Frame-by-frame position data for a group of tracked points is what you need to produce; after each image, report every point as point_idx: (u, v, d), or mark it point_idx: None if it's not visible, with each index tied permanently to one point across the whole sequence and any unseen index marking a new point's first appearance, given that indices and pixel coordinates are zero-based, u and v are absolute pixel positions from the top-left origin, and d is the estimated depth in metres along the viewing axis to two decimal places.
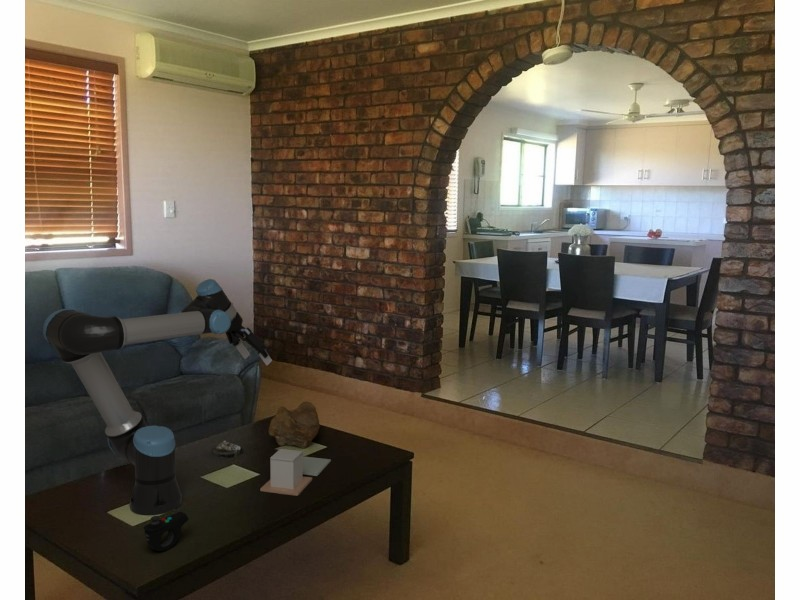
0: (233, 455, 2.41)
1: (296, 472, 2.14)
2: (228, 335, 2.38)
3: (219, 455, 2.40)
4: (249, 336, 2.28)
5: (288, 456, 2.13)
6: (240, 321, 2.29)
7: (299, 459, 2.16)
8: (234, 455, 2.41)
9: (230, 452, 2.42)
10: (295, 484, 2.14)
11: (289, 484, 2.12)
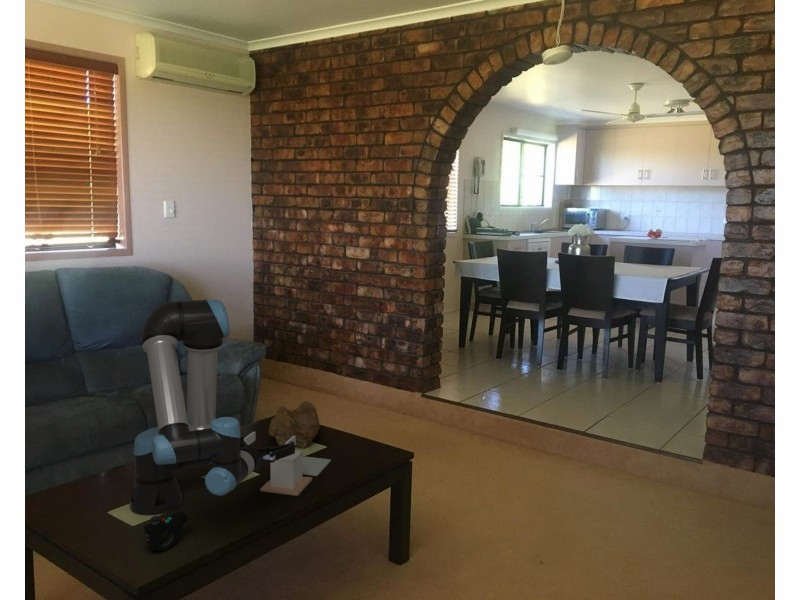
0: None
1: (296, 472, 2.14)
2: (278, 449, 1.92)
3: None
4: None
5: (288, 456, 2.13)
6: None
7: (299, 459, 2.16)
8: None
9: None
10: (295, 484, 2.14)
11: (289, 484, 2.12)
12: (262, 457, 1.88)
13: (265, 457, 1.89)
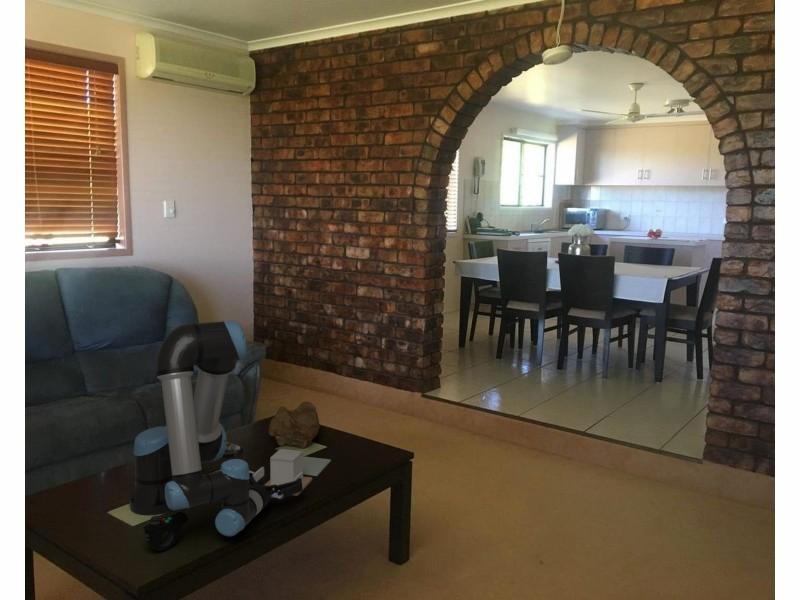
0: (233, 455, 2.41)
1: (296, 472, 2.14)
2: (286, 487, 1.97)
3: None
4: None
5: (288, 456, 2.13)
6: None
7: (299, 459, 2.16)
8: (234, 455, 2.41)
9: (230, 452, 2.43)
10: None
11: None
12: (270, 495, 1.94)
13: (273, 495, 1.94)
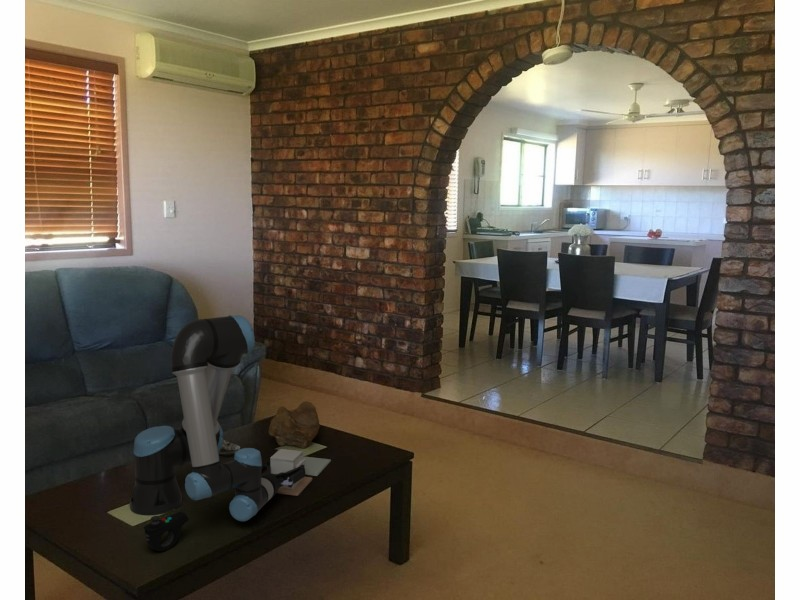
0: (233, 455, 2.41)
1: None
2: (293, 474, 2.07)
3: None
4: None
5: (288, 456, 2.13)
6: None
7: (299, 459, 2.16)
8: (233, 455, 2.41)
9: (230, 452, 2.43)
10: (295, 484, 2.14)
11: None
12: (280, 483, 2.02)
13: (284, 483, 2.03)
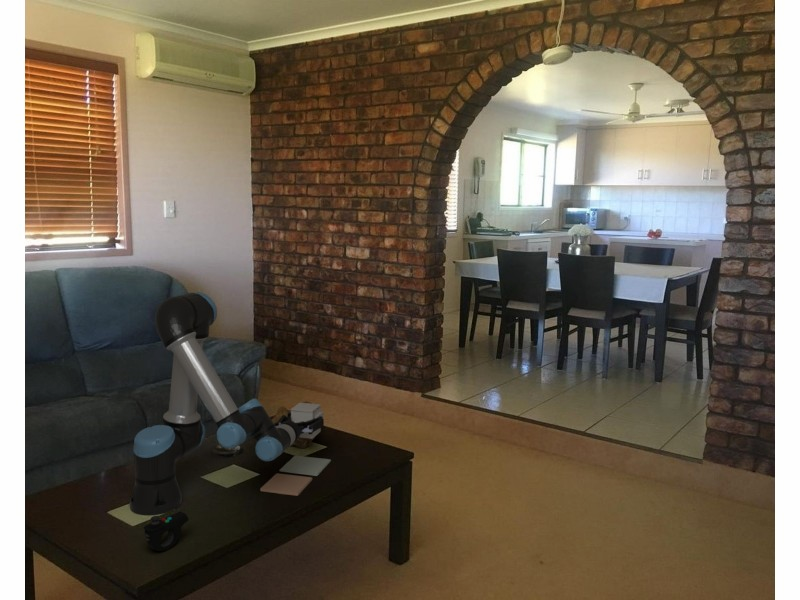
0: (232, 455, 2.41)
1: None
2: (312, 423, 2.22)
3: (218, 454, 2.41)
4: None
5: (307, 408, 2.28)
6: None
7: (317, 411, 2.31)
8: (233, 455, 2.41)
9: (229, 452, 2.43)
10: (314, 434, 2.28)
11: (308, 434, 2.27)
12: (301, 430, 2.17)
13: (304, 430, 2.18)
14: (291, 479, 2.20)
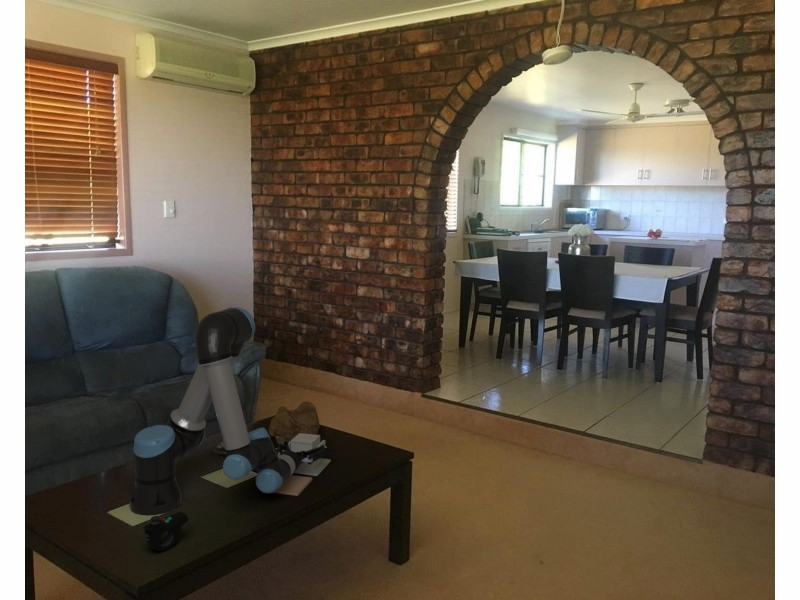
0: None
1: None
2: (313, 453, 2.23)
3: (218, 454, 2.41)
4: (276, 452, 2.24)
5: (307, 440, 2.30)
6: None
7: (317, 442, 2.32)
8: None
9: None
10: (314, 465, 2.30)
11: (308, 465, 2.29)
12: (301, 460, 2.19)
13: (304, 460, 2.19)
14: (291, 479, 2.20)
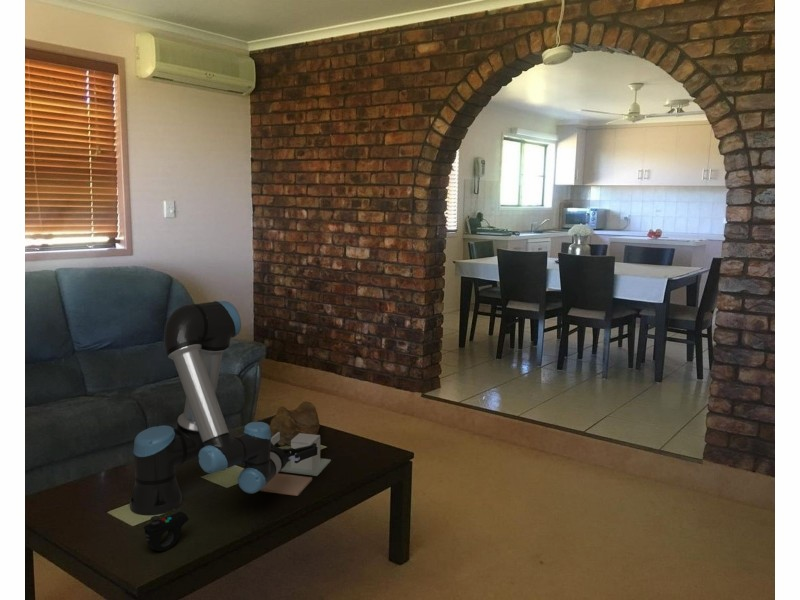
0: None
1: None
2: (302, 451, 2.08)
3: None
4: None
5: (307, 440, 2.30)
6: None
7: (317, 442, 2.32)
8: None
9: None
10: (314, 465, 2.30)
11: (308, 465, 2.29)
12: (288, 458, 2.05)
13: (290, 458, 2.05)
14: (291, 479, 2.20)
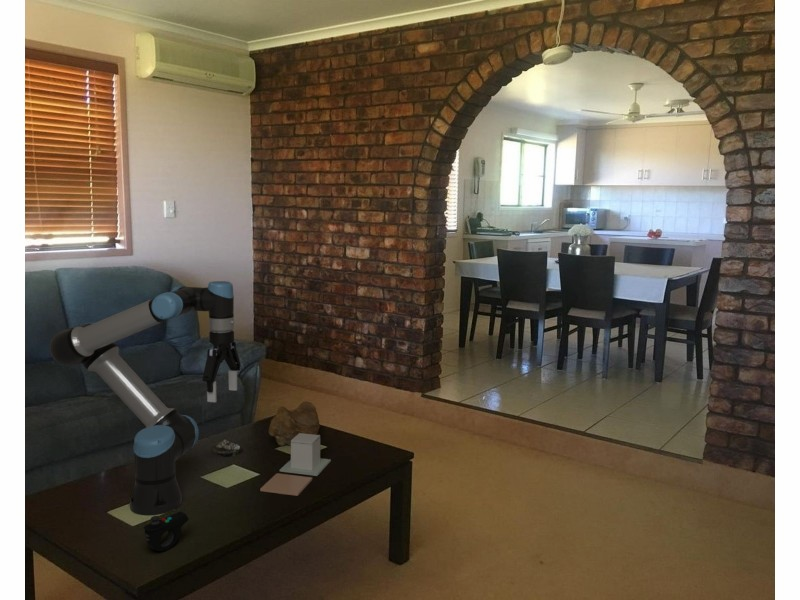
0: (232, 455, 2.41)
1: (314, 454, 2.30)
2: None
3: (217, 454, 2.41)
4: (208, 357, 1.99)
5: (307, 440, 2.30)
6: (220, 341, 2.02)
7: (317, 442, 2.32)
8: (232, 454, 2.42)
9: (229, 451, 2.43)
10: (314, 465, 2.30)
11: (308, 465, 2.29)
12: None
13: None
14: (291, 479, 2.20)
